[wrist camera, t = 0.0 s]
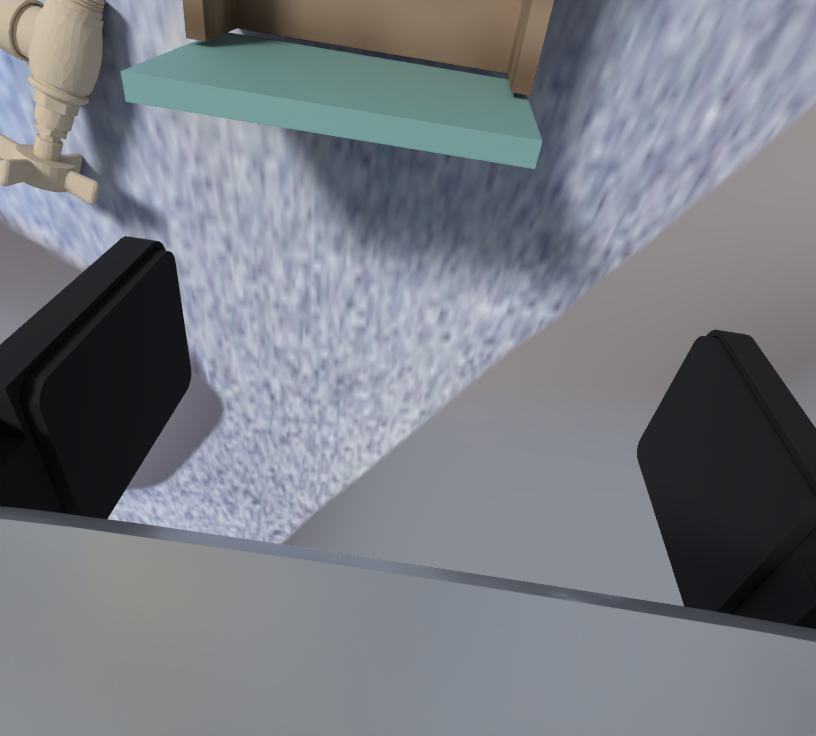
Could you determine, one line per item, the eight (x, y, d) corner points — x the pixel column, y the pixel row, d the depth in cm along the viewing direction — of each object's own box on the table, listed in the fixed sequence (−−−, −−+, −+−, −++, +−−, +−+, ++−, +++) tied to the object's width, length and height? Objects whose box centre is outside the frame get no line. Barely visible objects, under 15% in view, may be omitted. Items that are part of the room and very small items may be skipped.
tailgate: (220, 31, 33) (120, 71, 23) (522, 81, 33) (542, 141, 24) (222, 54, 34) (125, 101, 24) (516, 103, 34) (535, 169, 24)
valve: (124, 200, 42) (-6, 136, 41) (169, 29, 37) (24, -49, 36) (58, 216, 35) (-100, 139, 34) (103, 9, 30) (-79, -90, 29)
